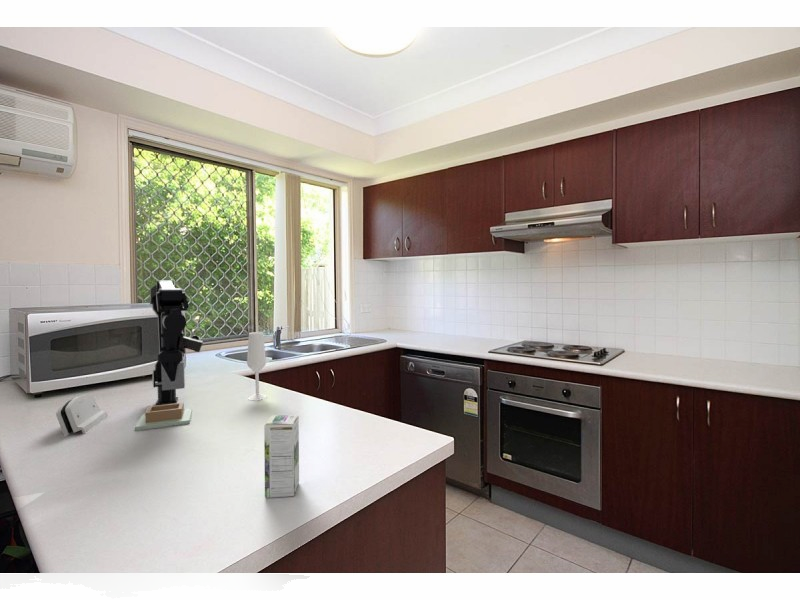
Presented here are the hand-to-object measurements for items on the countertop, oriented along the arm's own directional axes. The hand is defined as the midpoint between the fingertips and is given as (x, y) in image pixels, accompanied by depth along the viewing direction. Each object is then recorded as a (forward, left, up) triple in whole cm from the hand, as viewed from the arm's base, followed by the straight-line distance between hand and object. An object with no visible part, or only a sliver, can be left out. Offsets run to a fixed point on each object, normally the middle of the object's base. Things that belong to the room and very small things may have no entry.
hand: (173, 379), depth 128 cm
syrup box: (+61, +25, -13) cm, 66 cm away
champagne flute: (-14, +26, -13) cm, 32 cm away
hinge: (-5, -25, -13) cm, 28 cm away
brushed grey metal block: (0, 0, -3) cm, 2 cm away
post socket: (0, -2, -12) cm, 13 cm away
